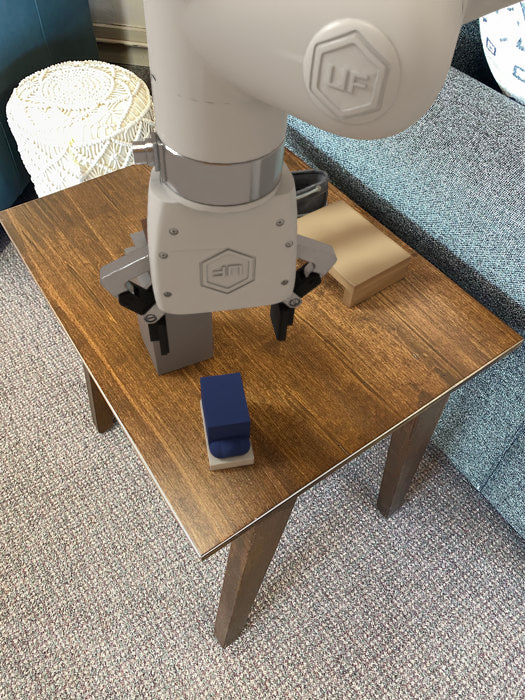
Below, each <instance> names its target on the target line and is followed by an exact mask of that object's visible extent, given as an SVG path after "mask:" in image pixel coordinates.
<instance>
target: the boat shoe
mask: <svg viewBox="0 0 525 700" xmlns="http://www.w3.org/2000/svg"><path fill="white" fill-rule="evenodd" d="M289 171H290V172H291V174H292V175H293V178H294V183H295V189H296V201H297V219H298V218H300V217H303V216H305V215H307V214H309V213H312V212H314V211H316V210H318V209H320V208H323V207H325V206H327V205H328V195H329V181H330V179H329V173H328V172H327V171H325V170H322V169H318V168H311V169H310V168H309V169H302V170H289Z"/></svg>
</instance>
